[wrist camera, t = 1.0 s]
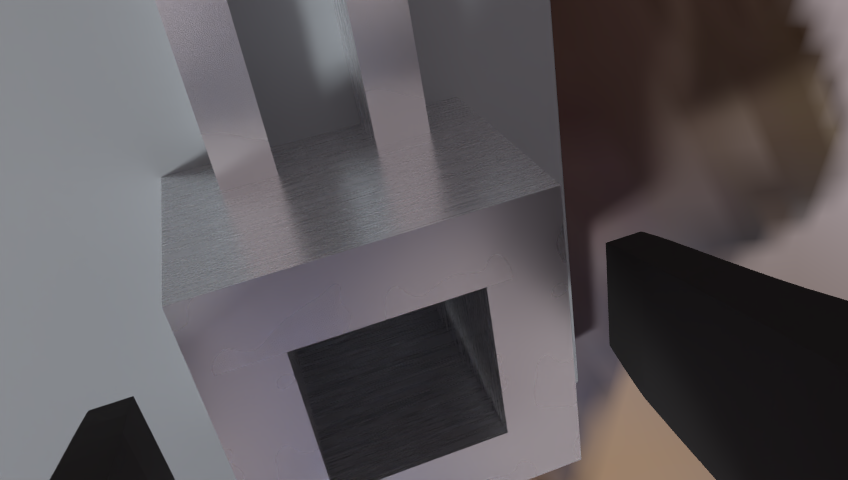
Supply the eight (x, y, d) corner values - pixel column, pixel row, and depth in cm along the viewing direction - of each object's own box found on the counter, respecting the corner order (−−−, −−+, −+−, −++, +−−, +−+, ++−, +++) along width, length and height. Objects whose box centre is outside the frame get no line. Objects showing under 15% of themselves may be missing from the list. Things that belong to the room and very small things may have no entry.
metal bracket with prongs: (491, 327, 16) (581, 459, 12) (250, 408, 15) (277, 574, 11) (431, -86, 11) (542, -55, 8) (88, -10, 11) (56, 61, 7)
